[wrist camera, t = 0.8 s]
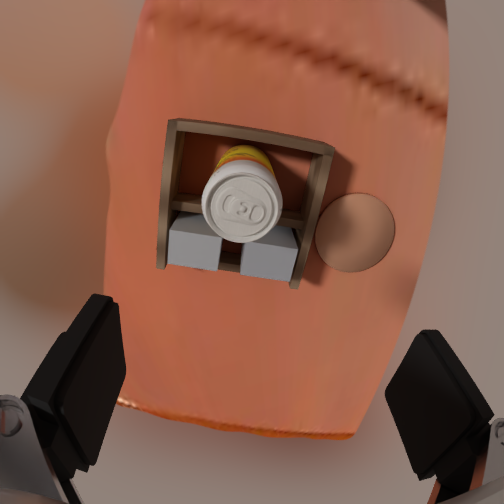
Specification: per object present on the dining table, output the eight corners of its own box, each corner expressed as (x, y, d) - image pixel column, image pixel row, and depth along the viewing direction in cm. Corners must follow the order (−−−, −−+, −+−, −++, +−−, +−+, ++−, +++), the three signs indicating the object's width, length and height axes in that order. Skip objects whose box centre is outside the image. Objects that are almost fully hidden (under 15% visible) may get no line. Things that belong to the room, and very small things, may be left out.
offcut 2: (246, 217, 38) (246, 241, 32) (290, 225, 39) (298, 249, 33) (241, 247, 40) (240, 274, 34) (283, 253, 41) (289, 281, 34)
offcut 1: (182, 208, 38) (169, 229, 32) (226, 214, 38) (221, 237, 32) (180, 237, 40) (167, 263, 33) (222, 244, 40) (217, 271, 34)
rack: (178, 118, 33) (168, 119, 28) (323, 142, 34) (335, 147, 30) (166, 249, 40) (156, 268, 36) (293, 268, 42) (298, 289, 37)
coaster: (326, 184, 37) (327, 185, 36) (402, 202, 37) (404, 204, 37) (305, 264, 41) (306, 266, 41) (377, 274, 42) (378, 276, 42)
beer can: (229, 136, 34) (215, 155, 21) (278, 154, 35) (297, 185, 22) (211, 184, 36) (189, 232, 23) (259, 200, 37) (265, 258, 24)
